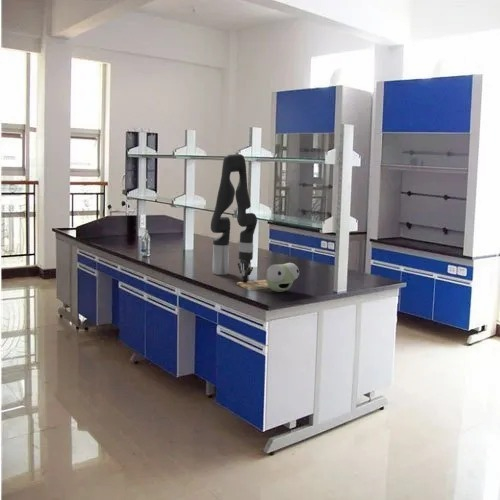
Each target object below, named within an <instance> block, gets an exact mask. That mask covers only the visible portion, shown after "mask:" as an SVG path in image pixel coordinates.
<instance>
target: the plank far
mask: <svg viewBox="0 0 500 500" xmlns="http://www.w3.org/2000/svg"><path fill="white" fill-rule="evenodd" d="M251 281H252V282H254V283H256V284H258V285H263V284H267V282H266V279H259V280H251Z"/></svg>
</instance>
